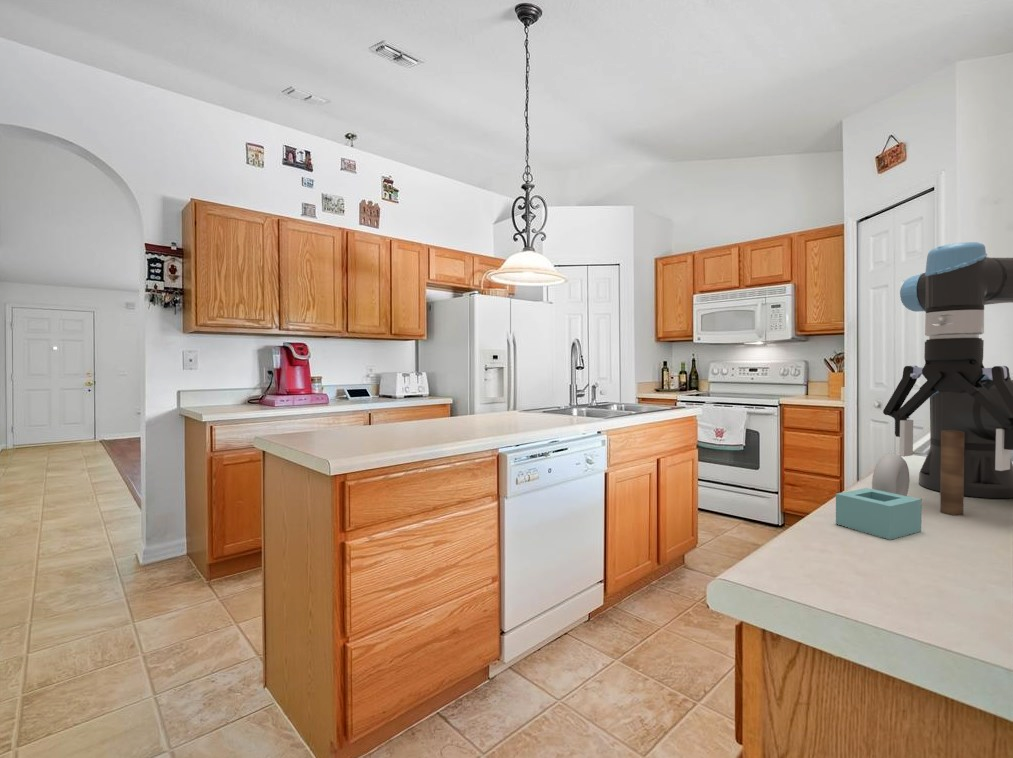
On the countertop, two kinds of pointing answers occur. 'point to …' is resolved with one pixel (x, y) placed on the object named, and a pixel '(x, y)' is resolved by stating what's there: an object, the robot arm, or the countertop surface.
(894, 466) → the grey rounded flat slab
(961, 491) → the thick dowel
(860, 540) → the countertop surface
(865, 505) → the teal socket block
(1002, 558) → the countertop surface
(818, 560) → the countertop surface
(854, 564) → the countertop surface
